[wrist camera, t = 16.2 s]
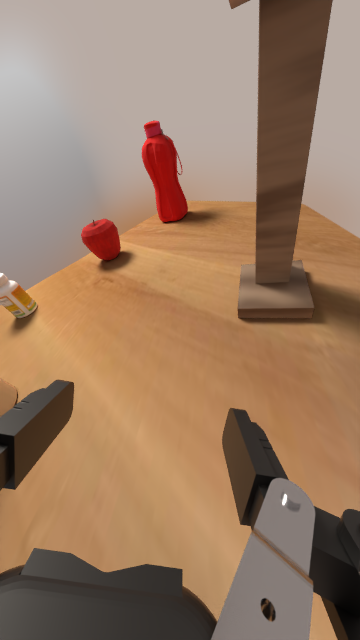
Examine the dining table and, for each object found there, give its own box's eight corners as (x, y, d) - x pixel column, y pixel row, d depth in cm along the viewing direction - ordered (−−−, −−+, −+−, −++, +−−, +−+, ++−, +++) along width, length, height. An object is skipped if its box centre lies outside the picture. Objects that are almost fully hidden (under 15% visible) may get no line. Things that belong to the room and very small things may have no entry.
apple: (120, 245, 66) (104, 210, 58) (131, 253, 59) (114, 214, 52) (92, 259, 63) (71, 224, 56) (101, 270, 57) (78, 231, 49)
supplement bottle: (35, 301, 53) (4, 268, 47) (40, 308, 50) (8, 274, 43) (14, 313, 51) (-21, 281, 45) (18, 321, 48) (-19, 288, 41)
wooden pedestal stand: (311, 318, 29) (496, -323, 7) (238, 317, 32) (210, -118, 10) (299, 270, 37) (371, -108, 15) (241, 273, 40) (230, -30, 18)
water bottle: (185, 221, 67) (163, 116, 50) (157, 224, 72) (128, 129, 55) (195, 210, 72) (178, 111, 55) (168, 213, 77) (145, 123, 60)
